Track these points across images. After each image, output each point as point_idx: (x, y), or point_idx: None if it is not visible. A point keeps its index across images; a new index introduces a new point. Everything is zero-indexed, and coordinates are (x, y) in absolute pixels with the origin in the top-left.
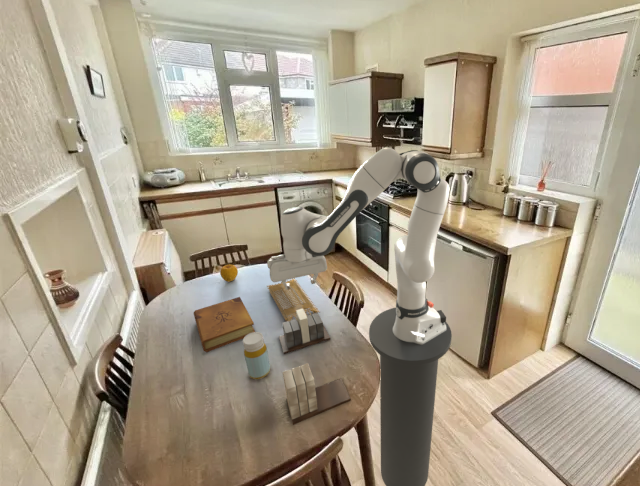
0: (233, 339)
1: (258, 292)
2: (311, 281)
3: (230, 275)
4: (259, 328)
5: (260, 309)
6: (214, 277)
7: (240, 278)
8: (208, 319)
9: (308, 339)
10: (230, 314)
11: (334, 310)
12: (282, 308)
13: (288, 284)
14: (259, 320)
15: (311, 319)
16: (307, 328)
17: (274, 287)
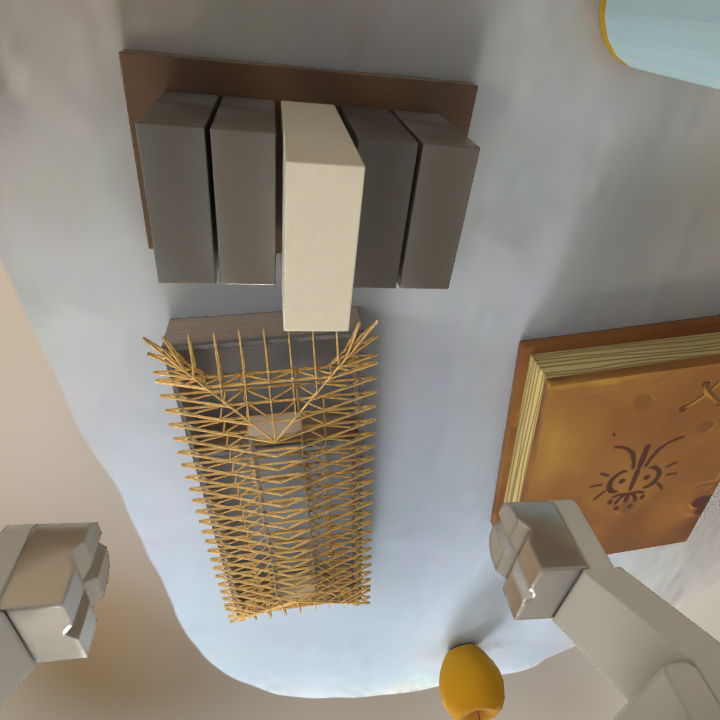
0: (624, 340)
1: (398, 577)
2: (81, 581)
3: (475, 674)
4: (488, 371)
5: (431, 486)
6: (498, 666)
7: (427, 651)
8: (685, 479)
9: (291, 105)
10: (601, 480)
11: (45, 348)
12: (358, 449)
13: (541, 596)
14: (464, 422)
15: (232, 221)
16: (293, 130)
17: (340, 589)
